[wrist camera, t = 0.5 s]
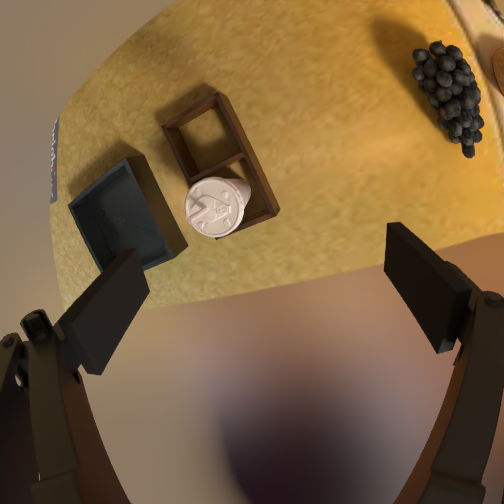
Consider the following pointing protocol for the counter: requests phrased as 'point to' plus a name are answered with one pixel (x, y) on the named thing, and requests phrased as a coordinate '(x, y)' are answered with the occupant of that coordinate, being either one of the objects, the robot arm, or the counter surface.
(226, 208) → the smoothie
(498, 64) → the bagel
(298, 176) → the counter surface
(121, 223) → the dark grey square tray
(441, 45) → the fruit
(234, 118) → the wooden divided frame
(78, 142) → the counter surface
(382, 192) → the counter surface
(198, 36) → the counter surface
